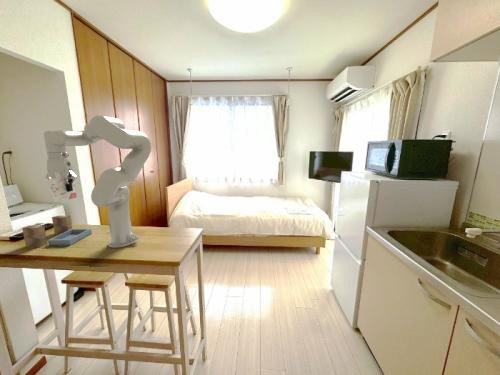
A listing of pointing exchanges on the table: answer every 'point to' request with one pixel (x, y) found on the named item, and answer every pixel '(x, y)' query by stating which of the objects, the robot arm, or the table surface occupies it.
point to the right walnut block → (61, 224)
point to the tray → (69, 237)
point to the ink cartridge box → (61, 188)
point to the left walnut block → (34, 236)
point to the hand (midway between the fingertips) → (63, 190)
